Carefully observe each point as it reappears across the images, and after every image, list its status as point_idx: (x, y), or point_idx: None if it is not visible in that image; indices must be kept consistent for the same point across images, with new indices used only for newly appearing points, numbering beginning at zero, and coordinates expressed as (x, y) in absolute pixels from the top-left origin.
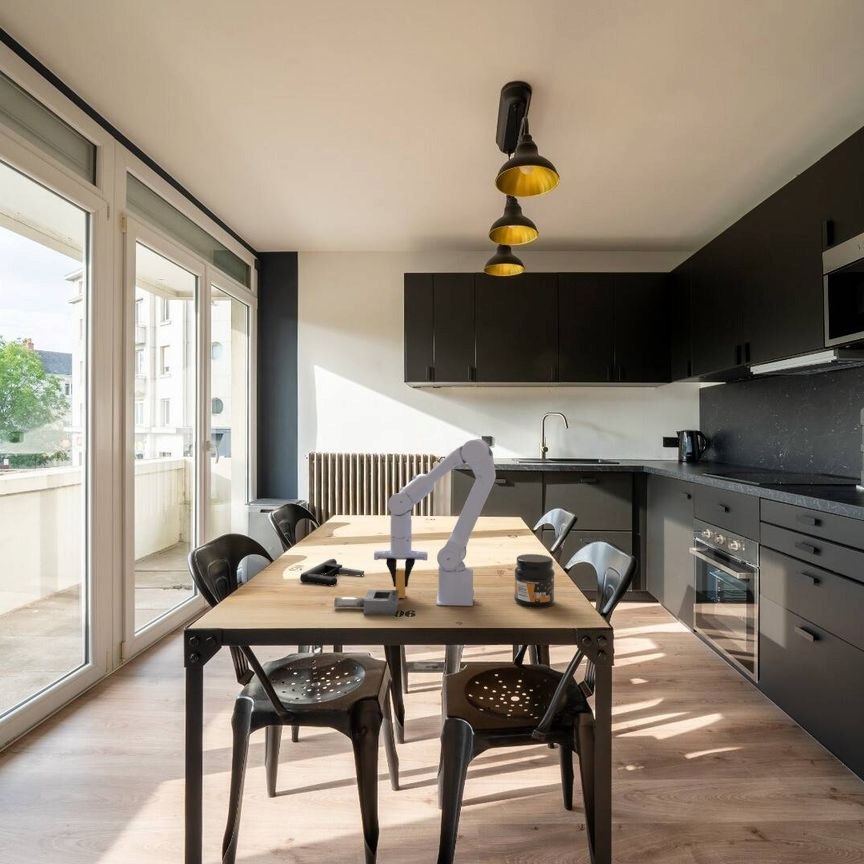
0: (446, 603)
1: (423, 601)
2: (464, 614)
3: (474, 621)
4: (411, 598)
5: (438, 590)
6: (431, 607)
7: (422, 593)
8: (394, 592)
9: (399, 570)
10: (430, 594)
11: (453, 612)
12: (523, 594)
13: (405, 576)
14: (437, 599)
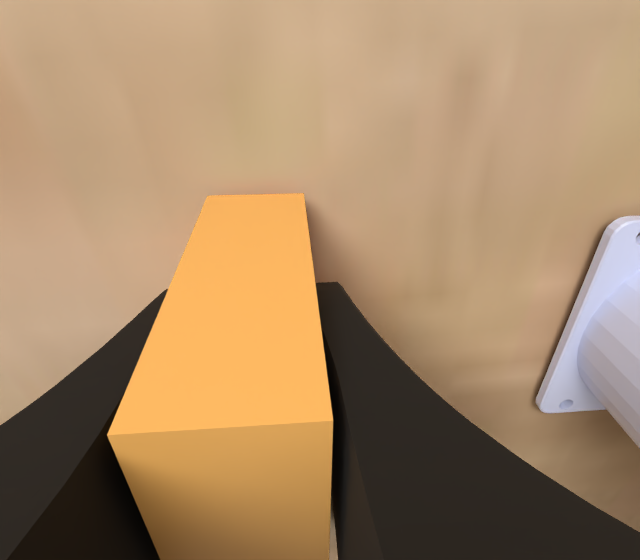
0: (603, 407)
1: (457, 336)
2: (634, 477)
3: (637, 525)
4: (364, 281)
5: (631, 392)
6: (489, 422)
7: (485, 123)
8: None
9: (219, 542)
10: (561, 153)
11: (590, 464)
12: None
13: (332, 491)
14: (571, 345)
